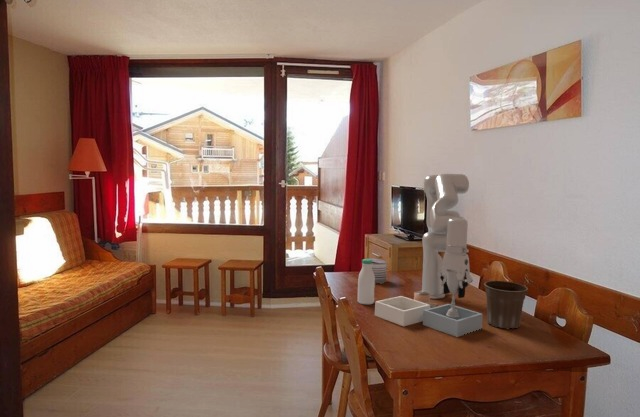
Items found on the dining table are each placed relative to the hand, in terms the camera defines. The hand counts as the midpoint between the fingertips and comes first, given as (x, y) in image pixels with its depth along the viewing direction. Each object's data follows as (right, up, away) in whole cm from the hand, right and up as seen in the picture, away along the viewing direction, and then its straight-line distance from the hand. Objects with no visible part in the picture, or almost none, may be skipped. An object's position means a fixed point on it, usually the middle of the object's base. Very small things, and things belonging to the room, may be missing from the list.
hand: (453, 295), depth 177 cm
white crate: (-18, -11, +11) cm, 24 cm away
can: (-22, -6, +73) cm, 76 cm away
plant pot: (+22, -13, +5) cm, 26 cm away
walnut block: (-6, -12, +15) cm, 20 cm away
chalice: (0, -8, +1) cm, 8 cm away
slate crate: (0, -13, +1) cm, 13 cm away
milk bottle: (-31, -10, +31) cm, 45 cm away
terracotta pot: (-7, -11, +23) cm, 27 cm away
